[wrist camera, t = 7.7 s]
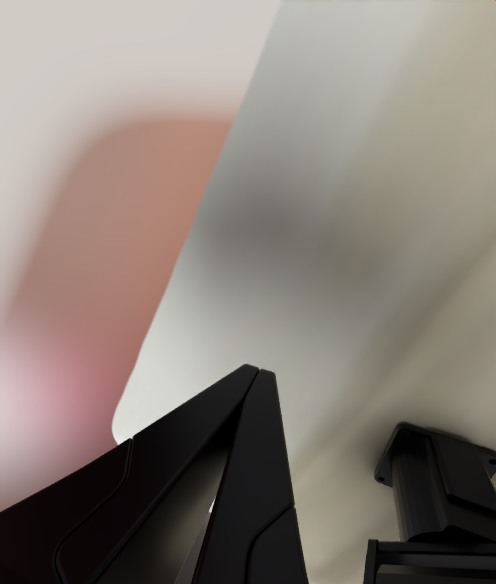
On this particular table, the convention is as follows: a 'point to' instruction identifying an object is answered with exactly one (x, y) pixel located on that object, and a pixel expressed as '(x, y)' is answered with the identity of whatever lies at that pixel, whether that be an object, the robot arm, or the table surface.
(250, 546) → the robot arm
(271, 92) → the table surface
